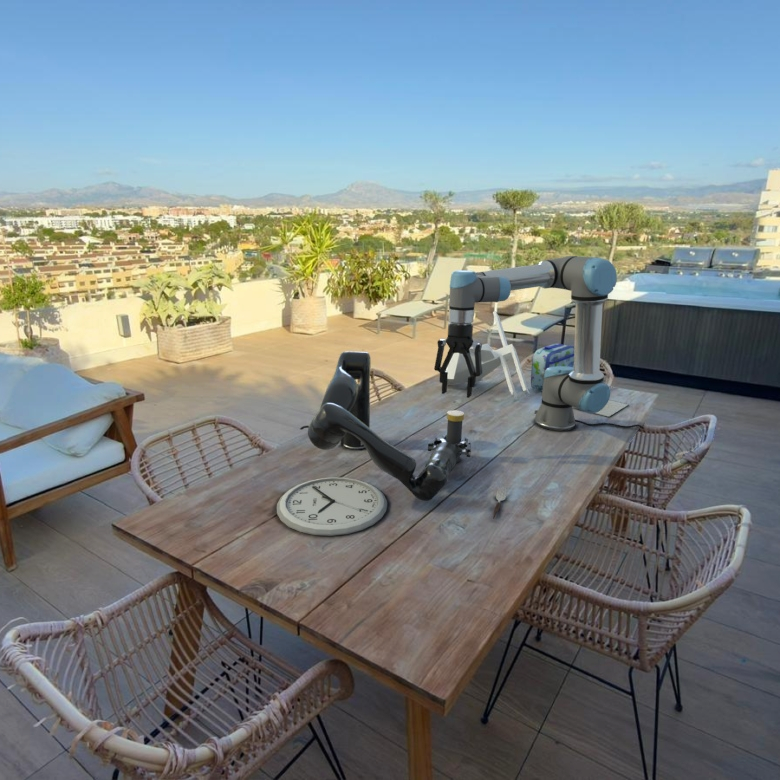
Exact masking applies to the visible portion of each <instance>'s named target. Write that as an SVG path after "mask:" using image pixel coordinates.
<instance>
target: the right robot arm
mask: <svg viewBox="0 0 780 780" xmlns="http://www.w3.org/2000/svg"><path fill="white" fill-rule="evenodd" d="M617 280H618V273H617V269H616V267H615V266H614V264H613V263H612V262H611V261H610V260H609V259H607V258H606V259H605V258H601V257H597V256H595V257H594V256H578V255H569V256H562V257H558V258H553V259H546V260H542V261H540V262H539V263H538V264H531V265H523V266H515V267H508V268H500V269H491V270H484V271H477V272H476V271H474V270H453V271H452V273H451V275H450V281H449V301H448V302H449V303H448V306H449V307H448V322H449V323H448V324H447V337H446V339H443V338H440V339H438V340H437V353H436V357H435V364H434V368H433V369H434V371H435V372H438V373H439V383H440V384H441V394H442V395H445V394H446V393H447V392H448V385H447V378H448V372H445V371H446V369H447V367H448V366H449V362H450V360H451V358H452V356H453V354H454V353H460V354H463V356H464V358H465V361H466V364H467V367H468V370H469V373H470V376H469V377H468V383H467V385H466V386H467V388H466V398H467V399H470V398H471V397H472V394H473V388H475V386H476V383H475V382H476V377H477V376H480V375H481V374H482V363H481V348H482V345H483V344H482V343H481V342H474V340H473V331H474V324H473V322H474V317H475V304H479V303H499V302H505V301H507V300H508V299H509V297H510V295H511V293H512V291H517V290H524V289H531V288H539V287H540V288H542V289H558V290H559V289H560V290H565V291H570V292H571V293H570V299H571V301H572V302H573V303H574V304H575V311H574V312H575V313H574V314H575V315H574V317H575V318H574V344H573V345H574V365H573V367H567V366H556V367H549V368H547V369H546V370H545V374H544V380H543V390H541V391H542V392H541V402H540V405H539V407H538V409H535V410H534V415H535V416H534V424H535V425H536V426H537V427H539V428H542V429H544V430H549V431H556V432H567V431H572V430H574V429H575V428H576V423H578V424H582V425H585V426H592V427H594V426H595V427H596V426H603V425H604V426H613V427H618V428H622V429H623V428H624V429H631V428H635V427H638V428H640V429H641V430H642V429H643V430H645V427H644V426H642V425H641V424H633V425H622V424H616V423H612V422H596V423H588V422H585V421H583V420H578V419H576V418H575V417H576V416H575V413H574V409H576V408H577V409H576V410H579V411H581V412H583V413H588V414H596V412H599V411H600V410H602V409H603V408H604V406H605V405H606V404H607V403H608V401H609V400H610V399H611V388H610V387H609V385H608V383H607V384H606V383H604V382H605V375H604V373H603V371H601V346H602V327H603V326H602V325H603V305H604V303H605V302H606V301H607V300H608V299H609V294H611V293H612V292H613V291H614V288H615V287H616V285H617ZM446 344H447V346H448V348H449V349H448V351H447V354H446V356H445V358H444V360H443V357H444V351H445V346H446ZM471 347H473V349H474V350H475V365H476V371H475V368H474V365H473V361H472V358H471V355H470V350H469V349H470V348H471ZM442 361H443V362H442ZM574 407H575V408H574Z"/></svg>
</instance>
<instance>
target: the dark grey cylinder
mask: <svg viewBox="0 0 780 780" xmlns="http://www.w3.org/2000/svg"><path fill="white" fill-rule="evenodd" d="M446 430H447V431H446V435H447V440H446V442H449V443H452V444H453V443H457V442H462V434H463V420H462V421H458V422H455V421H450V420H448V419H447V427H446ZM459 462H461V456H459V457H458V460H457V461H456V463H455V464H457V463H459Z"/></svg>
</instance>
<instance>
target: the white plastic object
mask: <svg viewBox="0 0 780 780" xmlns="http://www.w3.org/2000/svg"><path fill="white" fill-rule="evenodd" d="M492 315H493V319H494V321H495V324H496V325H495V326H496V328H497V332H498V335H499V338H500V342H501V345H502V347H500V348H498V349H496V350H495V349H493V348H492V347H491V346H490V344H489V343H488V342H487V343H483V344H482V348H481V363H482V374H481V375H480V376H477V377H476V382H475V384H477V383H480V382H482V381H484V378H485V377H486V376H487V375H489V374H490V373H492V372H494V371H495V370H496V369H497V368H499V367H500V366H502V370H503V373H504V376H505V380H506V383H507V386H508V390H509V393H510V394H511V395H512V397H513V398H514V399H515V400H517V392H516V391H517V390H516V388H515V385H514V381H513V378H512V375H511V371H510V369H509V365H508V361H510V360H513V363H514V366H515V369H516V372H517V376H518V380H519V382H520V385H521V389H522V391H523V393H524V395H525V396H526V397H528V396H531V395H530V390H529V388H528V387H529V386H528V384H527V381H526V378H525V375H524V371H523V369H522V368H523V367H522V366H521V362H520V359H519V355H518V352H517V349H516V347H515V346H514V345H513V343H511V344H508V341H507V337H506V334H505V331H504V328H503V325H502V321H501V318H500V315H499V314H498V312H497V311H496V310H495V311H492ZM469 350H470V355H471V358H472V361H473V365H474V368H475V371H476V365H475V350H474V349H473V346H471V348H470V349H469ZM445 372H448V378H447V386H449V385H458V384H468V377H469V376H470V373H469V370H468V367H467V364H466V361H465V358H464V356H463V354H460V353H454V354H453V356H452V358H451V360H450V362H449V364H448V367H447V369H446V371H445Z"/></svg>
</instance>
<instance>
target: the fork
mask: <svg viewBox="0 0 780 780" xmlns="http://www.w3.org/2000/svg"><path fill="white" fill-rule="evenodd" d="M502 489H503V490H502ZM507 490H508V487H506V488H503V487H502V486H501V488H498V489H497V493H496V496H495V499H496V500H497V501H498V502H497V503H496V505H495V506H494V511H493V517H492V519H495V518H496V516H497V514H498V512H499V511H500V506H501V505H500V504H501V502H502V501H505V500H506V499H507V498H506V496H507Z"/></svg>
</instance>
